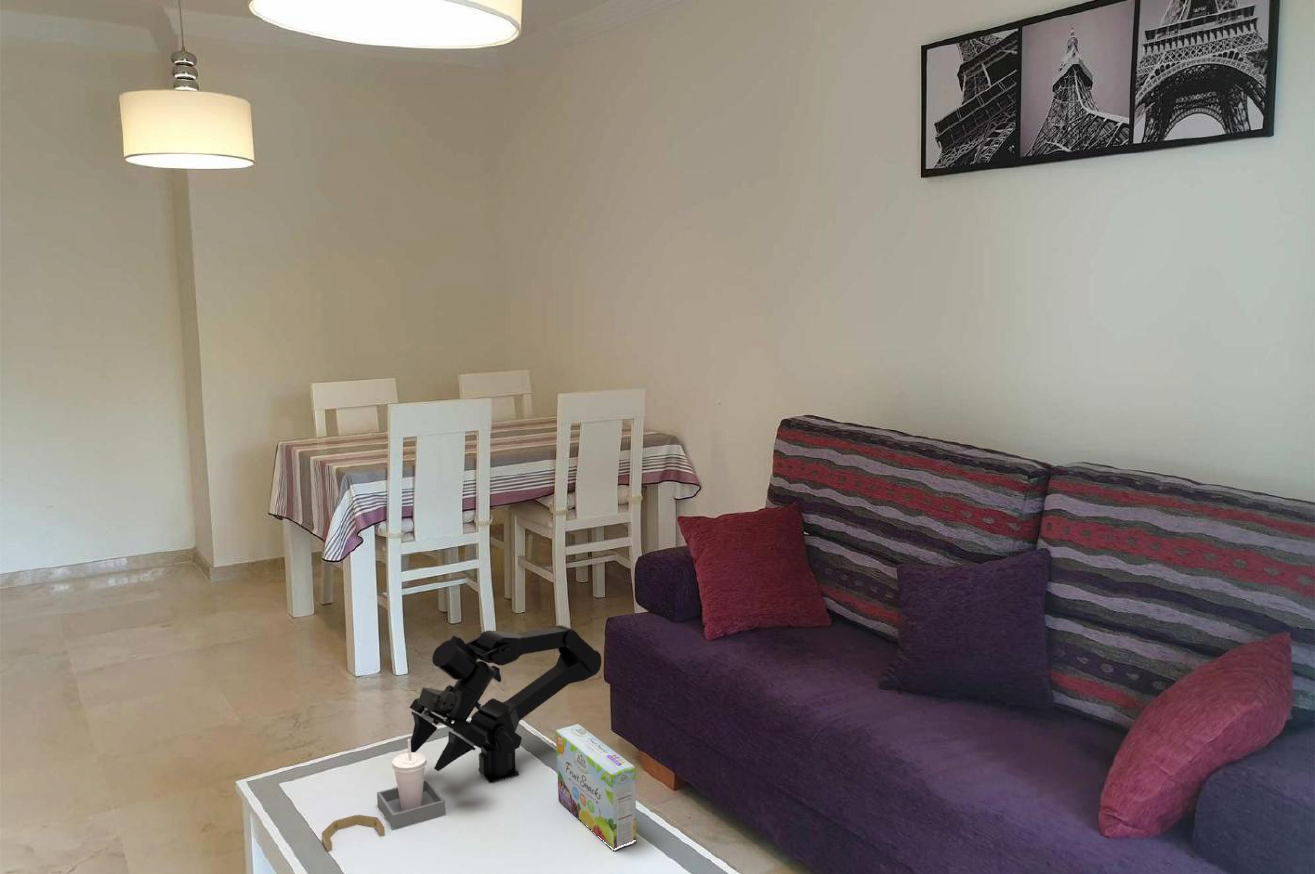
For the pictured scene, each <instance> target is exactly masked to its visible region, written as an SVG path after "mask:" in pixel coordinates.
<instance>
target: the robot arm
mask: <svg viewBox="0 0 1315 874" xmlns="http://www.w3.org/2000/svg"><path fill="white" fill-rule="evenodd" d="M549 650H550V651H551V650H557V653H559V656H558V658H557V660H556V663H555V665H554V666H553V667H551V668H550V669H548V670H547V671H545V672H544V673H543V674H542V675H540V676H539V677H538V678H536V679H535V680H533V681H532V682H530V683H528V685H526V686H525V687H524V688H522V689H521V690H519V691H518V692H517V693H515V694H514V695H513V696H511V697H509V698H508V699H506V700H505V701H500V700H498V699H496V698H493V697H492V698H491V699H489V700H487V701H486V702H485V703H484V704H483V705H482V704H481V703H480V702H479V701H480V700H481V697H482V695H483V694H484V693H485V691H487V689H488V686H489V685H490V683H491V682H492V680H493V681H495V682H498V683H501V682H502V676H501V673H500V671H501V669H500V667H498V666H506V665H508V664H510V663H513V662H516V661H517V660H518V659H519V658H520V657H521V656H524V655H528V654H533V653H539V652H545V651H549ZM431 660H432V664H433V665H434V666H435V667H436V668H438V669H439V670H441V672H443V673H444V674H446V675H447V676H448V677H450V678H451V679H453V680H456V682H455V683H454V684H453V685H452V684H448V685H447V686H446V687H445V689H444V690H440V689H436V688H430V687H425V686H424V687H422V688H421V692H420V695H419V697H418V698H417V697H416V698H415V699H414V700H413V701H412V703H411V704H410V705H409V709H410V710H412V711H411V712H410V713H411V716H412V717H413V720H414V726H413V731H412V735H411V738H410V739H411V752H416V753H417V751H418V750H419V749H420V748H421V747H422V746H424V744H425V743H426V742H427V741H428V740H429V739H430V737H431V736H432V735H433V734H434V733H435V732H436V731H437V730H438V729H439V727H437V726H436V725H439V724H442V725H444V726H446V727H447V728H449V729H451V730H452V732H451V731H450V730H449V731H448V741H447V744H446V745H445V747H444V748H443V751H442V752H441V754H440V755H439V757H438V759H437V761H436V763H435V766H434V770H435V771H437V772H440V771H441V770H442V769H444V768H446V767H447V766H448V765H450V764H452V763H453V762H454V761H456V760H457V759H459V758H460V757H462V756H464V755H466V754H467V753H469V752H470V751H476V749H477V748H479V749H480V752H479V754H478V769H477V770H478V772H479V774H481V775H482V777H484V778H485V780H486V781H488V783H495V782H498V781H502V780H507V779H509V778H514V777H517V776H519V775H520V772H519V771H518V770H517V769H516V750H517V749H519V748H520V747H521V743H522V739H523V738H522V736H521V735H519V733H517V732H516V731H517V728H518V726H519V723H520V721H521V720H523V719H524V718H525V717H526V716H528V715H529V714H531V713H532V712H533V711H535V710H536V709H538V708H539V707H541V705H543V704H544V703H546V702H547V701H548V700H549V699H551V698H552V697H553V696H555V695H557V694H558V693H559V692H561V691H562V690H563V689H564V688H565V687H568V686H569V685H571V684H574V683H580V682H584V681H586V680H588V679H590V678H592V677H594V676H596V675H597V674H598V673H599V672H600V671H601V667H602V655H601V652H599V650H596V649H594V648H593V647H592V646H591V645H590V644H588V642H587V641H585V640H584V639H583V638H582V637H581V636H580V635H579V634H578V632H576V630H575V629H573V628H570V627H567V626H565V625H560V624H559V625H556V626H554V627H547V628H541V629H535V630H529V631H523V632H522V631H521V632H507V631H501V630H485V631H483V632H482V633H480V636H478V637H477V638H474V639H472V640H470V641H468V642H465V641H464V640H463V639H462V638H461V637H459V636H457V635H452V636H451V638H450V639H449V640H446V641H444V642H443V643H442V642H441V644H440V645H439V646H437V647H436V648H435V650H434V652H433V654H432V659H431ZM489 664H493V665H491V666H490V665H489ZM494 664H495V665H494ZM496 665H497V666H496ZM475 708H476V710H477V711H475V712H474V713H473V714H472V715H471V713H472V712H473V710H474V709H475ZM470 715H471V717H470V718H471V719H470V722H469V721H467V720H468V719H469V716H470ZM476 747H477V748H476Z"/></svg>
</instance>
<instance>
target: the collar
mask: <svg viewBox="0 0 1315 874" xmlns="http://www.w3.org/2000/svg"><path fill="white" fill-rule="evenodd" d="M357 824H358V825H357ZM356 825H357V826H365V827H373V828H375V830H376V831H377V833H378V834H379V836H380V837H383V836H385V835H386V834H385V833H386V832H385V830H386V829H385V826H384V825H383V822H382V821H381V820H380V818H379V817H376V816H372V815H371V816H369V815H362V814H354V815H351V816H347V817H343V818H339V819H336V820H334V821H332V822H331V824H329V825H328V826H327V827H326V828H324V830H323V831H322V832H321V839H322V840H321V841H322V843H324V844H323V845H324V848H325V849H326V852H330V850H331V851H333V843H332V840H331V837H332V836H333V835H334V834H335V833H336V832H337V831H338V830H343V829H346V828H350V827H354V826H356Z"/></svg>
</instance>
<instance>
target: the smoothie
mask: <svg viewBox="0 0 1315 874" xmlns="http://www.w3.org/2000/svg"><path fill="white" fill-rule="evenodd" d="M391 763H392V765H391V766H392V769H393V771H394V775H395V780H396V787H398V792H399V797H400V803H401V808H402V810H403V811H406V810H410V809H413V808H417V807H420V806H422V795H423V783H424V780H425V772H426V771H425V769H426V765H427V764H428V762H427V756H426V755H425V754H423V753H421V752H417V751H416V752H411V738H408V739H407V752H405V753H402V754H399V755H397V756H395V757H394V758H393V759H392V761H391Z"/></svg>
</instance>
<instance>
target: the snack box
mask: <svg viewBox="0 0 1315 874" xmlns="http://www.w3.org/2000/svg"><path fill="white" fill-rule="evenodd" d="M555 740H556V741H555V744H556V765H557V766H556V770H557V771H556V772H557V792H558V795H557V797H558V798H557V799H558V802H559V801H560V802H561V803H562V804H561V805H562V806H564V808H566V809H567V810H568V811H569V810H570V811H571V812H572V813H573V814H574V815H575V816H576V817H575V816H574V815H573V814H572V813H571V812H570V811H569V812H570V813H571V814H572V815H573V816H574V817H575V818H576V819H578V820H579V819H580V820H581V821H582V822H583V823H584V824H585V825H587V826H588V828H590V829H591V830H592V831H593V832H594V833H595V834H596V835H597V836H599V837H600V838H601V839H602V840H604V842H606V843H607V844H608V845H609V846H611V847H612V848H613V849H615V848H617V847H619V846H621V845H624V844H627V843H629V842H632V841H633V840H636V841H637V802H636V800H637V795H636V793H637V792H636V788H637V787H636V781H637V780H636V766H635V765H633V764H632V763H630V762H629V760H626V758H624V757H623V756H621V755H620V754H619V753H618V752H616V751H615V750H614V749H612V748H611V747H609V746H608V745H606V744H605V743H604V742H603V741H601V740H600V739H598V737H596V736H595V735H593V734H592V733H591V732H589V731H588V730H586V728H584V727H583V726H582V725H580V724H579V723H575V724H572V725H570V726H565V727H563V728H559V729H556V730H555ZM560 802H559V803H560ZM580 820H579V821H580ZM581 821H580V822H581ZM582 822H581V823H582ZM583 823H582V824H583ZM584 824H583V825H584ZM585 825H584V826H585ZM588 828H587V829H588ZM590 829H589V830H590ZM591 830H590V831H591ZM592 831H591V832H592ZM593 832H592V833H593ZM594 833H593V834H594ZM595 834H594V835H595ZM596 835H595V836H596ZM597 836H596V837H597Z"/></svg>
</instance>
